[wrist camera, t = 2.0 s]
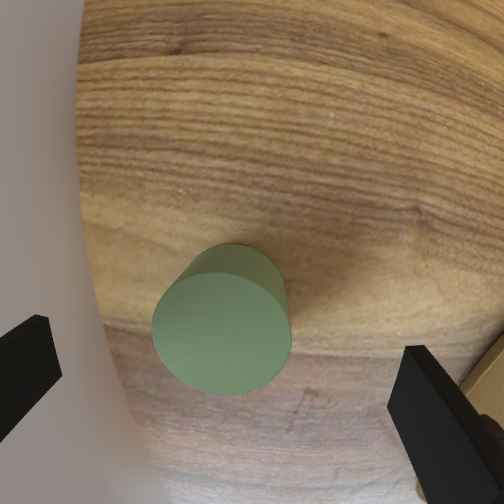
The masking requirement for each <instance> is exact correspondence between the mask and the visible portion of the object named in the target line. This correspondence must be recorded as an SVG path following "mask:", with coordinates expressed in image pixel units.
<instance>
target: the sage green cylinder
mask: <svg viewBox="0 0 504 504" xmlns="http://www.w3.org/2000/svg"><path fill="white" fill-rule="evenodd" d="M152 336H153V341H154V345H155V348H156V350H157V352H158V355H159V357H160V358H161V360H162V361H163V363H164V364H165V365H166V367H167V368H168V369H169V370H170V371H171V372H172V373H173V374H174V375H175V376H176V377H177V378H179V379H180V380H181V381H183V382H184V383H186V384H188V385H190V386H192V387H194V388H196V389H198V390H201V391H204V392H208V393H212V394H218V395H237V394H243V393H247V392H251V391H254V390H256V389H258V388H260V387H262V386H264V385H266V384H267V383H269V382H270V381H271V380H272V379H274V378H275V377H276V376H277V375H278V374H279V372H280V371H281V370H282V368H283V367H284V365H285V363H286V361H287V360H288V357H289V354H290V350H291V345H292V333H291V325H290V317H289V310H288V303H287V295H286V288H285V283H284V280H283V277H282V275H281V273H280V271H279V269H278V268H277V266H276V265H275V264H274V263H273V262H272V261H271V260H270V259H269V258H268V257H267V256H266V255H264V254H263V253H262V252H260V251H258V250H256V249H254V248H251V247H248V246H244V245H239V244H225V245H219V246H216V247H213V248H210V249H208V250H206V251H205V252H203V253H201V254H200V255H199V256H198V257H197V258H196V259H195V260H194V261H193V262H192V263H191V264H190V265H189V266H188V267H187V269H186V270H185V271H184V272H183V273H182V274H181V275H180V276H179V278H178V279H177V280H176V281H175V282H174V283H173V284H172V285H171V287H170V288H169V289H168V290H167V291H166V292H165V293H164V295H163V296H162V297H161V299H160V300H159V302H158V304H157V306H156V308H155V311H154V315H153V320H152Z"/></svg>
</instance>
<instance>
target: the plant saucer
mask: <svg viewBox="0 0 504 504" xmlns="http://www.w3.org/2000/svg"><path fill="white" fill-rule="evenodd" d="M459 389H460V390H461V391H462V392H463V394H464V395H465V396H466V398H467V399H468V400H469V402H470V403H471V404H472V405H473V407H474V408H475V409H476V411H477V412H478V413H479V415H481V414H487V415H488V416H490V417H491V418H492V419H494V420H495V421H497V422H498V423H499V425H500V426H501V427H502V429H503V430H504V334H503V335H502V336H501V337H500V338H499V340H498V341H497V342H496V343H495V344H494V345H493V346H492V347H491V348H490V350H489V351H488V352H487V353H486V354H485V355H484V356H483V358H482V359H481V360H480V361H479V363H478V364H477V365H476V366H475V367H474V369H473V370H472V371H471V372H470V374H469V375H468V376H467V378H466V379H465V380H464V382H463V383H462V384H461V386H460V387H459ZM415 491H416V494H417V496H418V497H419V498H420V499H421V500H422V501H423V502H425V503H427V501H426V498H425V496H424V493H423V491H422V488H421V486H420V483H419V481H418V478H417V476H416V479H415Z"/></svg>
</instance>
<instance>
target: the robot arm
mask: <svg viewBox="0 0 504 504" xmlns="http://www.w3.org/2000/svg"><path fill="white" fill-rule="evenodd" d="M61 377H62V372H61V369H60V365H59V361H58V358H57V354H56V350H55V346H54V342H53V337H52V333H51V328H50V324H49V319H48V317H44V316H40V315H36V314H35V315H34V316H32V317H30V318H29V319H27V320H26V321H24V322H23V323H21V324H20V325H18V326H17V327H15V328H14V329H12V330H11V331H9V332H8V333H6V334H5V335H3V336H2V337H0V443H1V442H2V440H3V439H4V438H5V437H6V436H7V435H8V434H9V433H10V431H11V430H12V429H13V428H14V427H15V426H16V425H17V424H18V423H19V421H20V420H21V419H22V418H23V417H24V416H25V415H26V414H27V413H28V412H29V411H30V409H31V408H32V407H33V406H34V405H35V404H36V403H37V402H38V401H39V400H40V399H41V398H42V397H43V396H44V394H45V393H46V392H47V391H48V390H49V389H50V388H51V387H52V386H53V385H54V384H55V383H56V382H57V381H58V380H59V379H60V378H61ZM387 409H388V411H389V413H390V415H391V417H392V420H393V422H394V424H395V426H396V429H397V431H398V433H399V436H400V438H401V440H402V442H403V445H404V447H405V449H406V452H407V454H408V457H409V459H410V461H411V464H412V466H413V468H414V471H415V473H416V476H417V478H418V481H419V483H420V486H421V488H422V491H423V493H424V496H425V498H426V501H427V504H504V430H503V429H502V427H501V426H500V425H499V423H498V422H497V421H495V420H494V419H492V418H491V417H490V416H488V415H487V414H481V415H479V413H478V412H477V411H476V409H475V408H474V407H473V405H472V404H471V403H470V402H469V400H468V399H467V398H466V396H465V395H464V394H463V392H462V391H461V390H460V389H459V387H458V386H457V385H456V384H455V382H454V381H453V380H452V379H451V377H450V376H449V375H448V374H447V372H446V371H445V370H444V369H443V367H442V366H441V365H440V364H439V362H438V361H437V360H436V359H435V358H434V356H433V355H432V354H431V353H430V352H429V350H428V349H427V348H426V347H425V346H424V345H415V346H405V350H404V354H403V357H402V361H401V364H400V368H399V371H398V374H397V378H396V381H395V384H394V387H393V390H392V393H391V396H390V399H389V402H388V405H387Z"/></svg>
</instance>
